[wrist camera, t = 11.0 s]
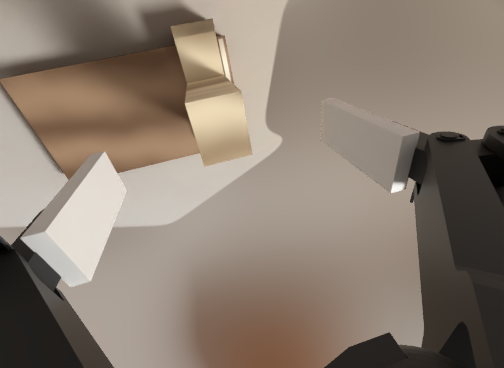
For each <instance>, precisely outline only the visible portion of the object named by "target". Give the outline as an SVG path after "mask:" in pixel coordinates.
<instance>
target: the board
mask: <svg viewBox="0 0 504 368" xmlns="http://www.w3.org/2000/svg"><path fill="white" fill-rule="evenodd" d="M216 38H217V43H218V48H219V53H220V57H221V62H222V67H223V72H224V76H225V77H227V78H228V79H229V80H230V81H231V82H232V83H233V84H234V82H233V77H232V71H231V66H230V61H229V56H228V51H227V45H226V40H225V36H220V37H216ZM0 82H1V84H2V85H3V87H4V88H5V89H6V91H7V92H8V94H9V95H10V97H11V98H12V99H13V101H14V102H15V104H16V105H17V107H18V108H19V109H20V111H21V112H22V114H23V115H24V117H25V118H26V119H27V121H28V122H29V124H30V125H31V127H32V128H33V129H34V131H35V132H36V134H37V135H38V137H39V138H40V139H41V141H42V142H43V144H44V145H45V147H46V148H47V149H48V151H49V152H50V154H51V155H52V157H53V158H54V159H55V161H56V162H57V164H58V165H59V167H60V168H61V169H62V171H63V172H64V174H65V175H66V177H67V178H68V179H69V180H70V178H71V177H72V176H73V175H74V174H75V172H76V171H77V170H78V169H79V168H80V167H81V165H82V164H83V163H84V162H85V161H86V159H87V158H88V157H89V156H90V155H91V154H95V153H99V152H103V151H105V152H106V154H107V156H108V158H109V160H110V161H111V163H112V165H113V167H114V168H115V170H116V172H117V173H120V172H124V171H128V170H132V169H136V168H140V167H144V166H148V165H153V164H157V163H161V162H165V161H169V160H173V159H177V158H181V157H185V156H190V155H194V154H198V153H200V151H199V148H198V144H197V141H196V138H195V135H194V132H193V128H192V125H191V122H190V119H189V116H188V112H187V109H186V106H185V96H186V88H187V81H186V78H185V75H184V71H183V68H182V64H181V61H180V58H179V54H178V51H177V47H176V45H173V46H168V47H163V48H158V49H153V50H147V51H142V52H137V53H132V54H127V55H122V56H116V57H111V58H106V59H101V60H96V61H91V62H85V63H80V64H75V65H70V66H65V67H60V68H55V69H49V70H44V71H39V72H34V73H29V74H24V75H18V76H13V77H8V78H3V79H0Z"/></svg>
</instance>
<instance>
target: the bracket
mask: <svg viewBox="0 0 504 368" xmlns="http://www.w3.org/2000/svg"><path fill="white" fill-rule="evenodd" d="M170 27H171V30H172V34H173V37H174V41H175V44H176V47H177V51H178V54H179V58H180V61H181V64H182V68H183V71H184V75H185V78H186V81H187V88H186V96H185V106H186V109H187V112H188V116H189V119H190V122H191V125H192V128H193V132H194V135H195V138H196V141H197V144H198V148H199V151H200V154H201V157H202V160H203V164H204V167H205V166H209V165H213V164H217V163H221V162H225V161H229V160H233V159H237V158H241V157H245V156H249V155H252V149H251V144H250V138H249V133H248V127H247V122H246V116H245V110H244V105H243V99H242V94H241V91H240V90H239V89H238V88H237V87H236V86H235V85H234V84H233V83H232V82H231V81H230V80H229V79H228V78H227V77H225V76H224V72H223V67H222V62H221V57H220V53H219V48H218V43H217V38H216V34H215V29H214V24H213V19H207V20H202V21H196V22H191V23H185V24H180V25H175V26H170Z"/></svg>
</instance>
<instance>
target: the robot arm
mask: <svg viewBox="0 0 504 368" xmlns="http://www.w3.org/2000/svg"><path fill="white" fill-rule="evenodd" d="M321 141H322V142H323V143H324V144H326V145H327V146H328V147H330V148H331V149H332V150H334V151H335V152H336V153H338V154H339V155H340V156H342V157H343V158H344V159H346V160H347V161H348V162H350V163H351V164H352V165H354V166H355V167H356V168H358V169H359V170H360V171H362V172H363V173H365V174H366V175H367V176H368V177H370V178H371V179H372V180H374V181H375V182H376V183H378V184H379V185H380V186H382V187H383V188H384V189H386V190H387V191H388V192H390V193H393V192H396V191H400V190H404V189H406V185H407V181H408V178H411V179H413V180H414V181H416V182H415V186H414V189H413V193H412V196H411V200H410V202H411V203H413V201H414V202H415V214H416V227H417V241H418V254H419V267H420V280H421V293H422V306H423V319H424V336H423V341H422V347H421V348H420V347H415V346H407V345H398V344H397V342H396V341H395V339H394V338H393V337H392V336H391V334H390V333H386V334H384V335H381V336H378V337H375V338H373V339H370V340H367V341H365V342H362V343H359V344H357V345H354V346H351V347H349V348H348V349H346V350H345V351H344V352H343V353H342V354H340V355H339V356H338V357H337V358H335V359H334V360H333V361H332V362H331V363H329V364H328V365H327V366H326V367H324V368H504V126H494V127H490V128H488V129H487V131H486V133H485V135H484V138H483V139H480V140H470V139H469V138H468V137H467V136H465V135H462V134H459V133H454V132H436V133H432V134H430V135H428V134H425V133H422V132H420V131H417V130H415V129H412V128H409V127H407V126H404V125H402V124H399V123H397V122H394V121H391V120H388V119H386V118H383V117H381V116H378V115H376V114H373V113H370V112H368V111H365V110H363V109H360V108H358V107H355V106H353V105H350V104H348V103H345V102H342V101H340V100H337V99H335V98H328V99H324V100H321ZM126 192H127V190H126V188H125V186H124V184H123V183H122V181H121V179H120V177H119V175H118V174H117V172H116V170H115V168H114V167H113V165H112V163H111V161H110V160H109V158H108V156H107V154H106V152H105V151H103V152H99V153H95V154H91V155H90V156H89V157H88V158H87V159H86V161H85V162H84V163H83V164H82V165H81V167H80V168H79V169H78V170H77V171H76V172H75V174H74V175H73V176H72V177H71V178H70V180H69V181H68V182H67V183H66V184H65V185H64V187H63V188H62V189H61V190H60V191H59V193H58V194H57V195H56V196H55V197H54V198H53V200H52V201H51V202H50V203H49V204H48V206H47V207H46V208H45V209H44V210H42V211H41V212H40V213H39V214H38V215H37V216H36V217H35V218H34V219H33V221H32V222H31V223H30V224H29V225H28V226H27V229H25V230H24V231H23V232H22V233H21V235H20V236H19V237H18V238H17V239H16V241H15V242H14V243H13V244H12V245H10V244H9V243H7V242H6V241H5V240H4V239H3V238H2V237H1V236H0V368H114V367H113V366H112V364H111V363H110V361H109V360H108V358H107V357H106V356H105V354H104V353H103V351H102V350H101V348H100V347H99V345H98V344H97V343H96V341H95V340H94V339H93V337H92V335H91V334H90V333H89V331H88V330H87V328H86V327H85V325H84V324H83V322H82V321H81V319H80V318H79V317H78V315H77V314H76V312H75V311H74V309H73V308H72V306H71V305H70V304H69V302H68V301H67V299H66V298H65V296H64V295H63V294H62V292H61V291H60V290H58V289H57V288H56V286H57V284H58V282H59V280H60V279H62V280H64V282H66V283H67V284H68V285H69V286H70V287H73V286H76V285H80V284H83V283H86V282H90V281H91V279H92V277H93V274H94V272H95V269H96V267H97V264H98V262H99V259H100V257H101V254H102V252H103V249H104V247H105V244H106V242H107V239H108V237H109V234H110V231H111V229H112V227H113V224H114V222H115V219H116V217H117V214H118V212H119V209H120V207H121V204H122V202H123V199H124V197H125V194H126Z"/></svg>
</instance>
